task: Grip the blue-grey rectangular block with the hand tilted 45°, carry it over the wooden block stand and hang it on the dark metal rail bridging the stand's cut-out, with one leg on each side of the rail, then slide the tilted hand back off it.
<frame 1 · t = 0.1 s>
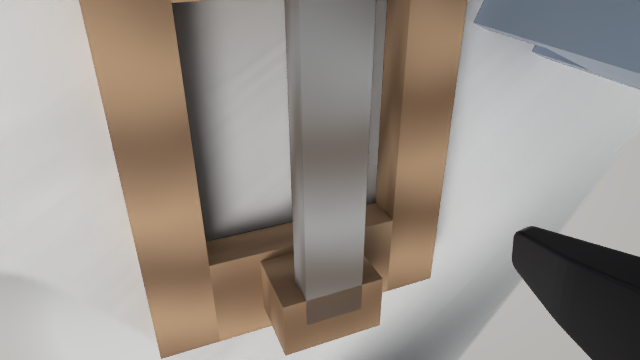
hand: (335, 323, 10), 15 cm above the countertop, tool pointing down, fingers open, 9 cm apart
wooden block stand: (289, 118, 24), on the countertop
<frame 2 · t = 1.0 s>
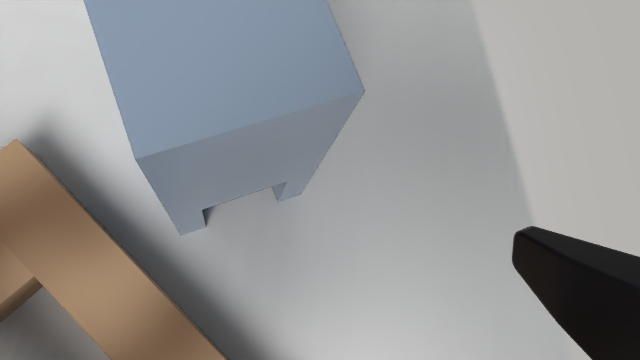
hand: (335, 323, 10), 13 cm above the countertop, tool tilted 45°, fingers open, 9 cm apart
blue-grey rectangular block: (225, 166, 24), on the countertop
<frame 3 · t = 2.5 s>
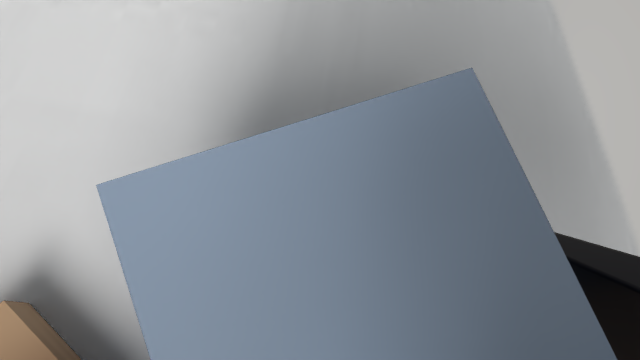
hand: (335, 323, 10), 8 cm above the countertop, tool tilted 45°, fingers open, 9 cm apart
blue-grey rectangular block: (282, 306, 18), on the countertop
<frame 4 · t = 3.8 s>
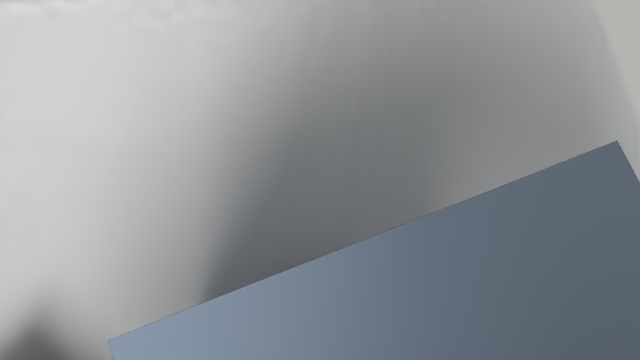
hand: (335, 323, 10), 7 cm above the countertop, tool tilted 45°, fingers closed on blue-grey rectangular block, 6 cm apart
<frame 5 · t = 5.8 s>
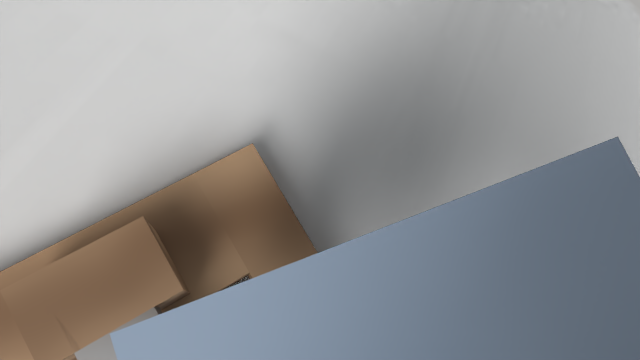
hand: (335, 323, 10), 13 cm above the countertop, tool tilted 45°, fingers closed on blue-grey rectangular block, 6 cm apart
when the fingers open (9 cm above the countertop, at t = 7.8 s): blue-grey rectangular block stays where it is, resting on wooden block stand.
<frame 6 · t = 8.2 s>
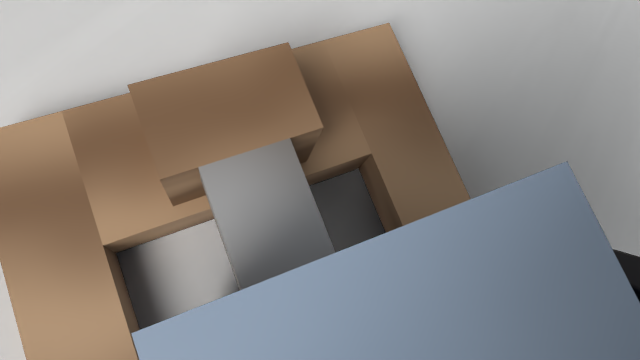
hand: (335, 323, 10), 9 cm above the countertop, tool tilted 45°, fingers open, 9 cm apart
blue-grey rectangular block: (306, 358, 17), point 1 cm above the countertop, touching wooden block stand
wooden block stand: (300, 356, 18), on the countertop
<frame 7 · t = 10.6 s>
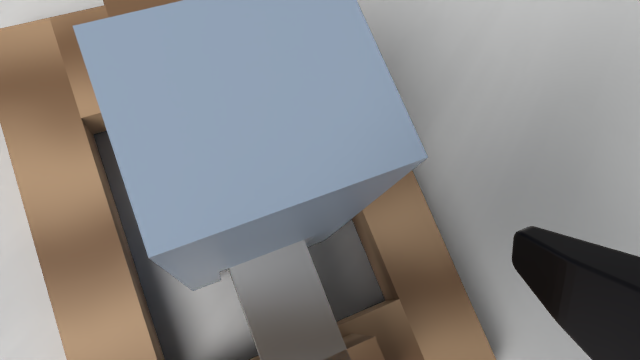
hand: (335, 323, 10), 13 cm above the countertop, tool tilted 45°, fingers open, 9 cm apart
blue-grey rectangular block: (241, 210, 22), point 1 cm above the countertop, touching wooden block stand
wooden block stand: (240, 218, 23), on the countertop
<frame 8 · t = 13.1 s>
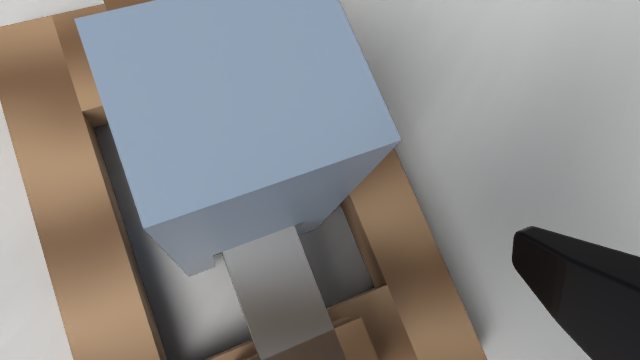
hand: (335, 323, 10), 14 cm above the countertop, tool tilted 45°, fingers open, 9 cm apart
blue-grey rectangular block: (235, 200, 23), point 1 cm above the countertop, touching wooden block stand
wooden block stand: (234, 208, 24), on the countertop
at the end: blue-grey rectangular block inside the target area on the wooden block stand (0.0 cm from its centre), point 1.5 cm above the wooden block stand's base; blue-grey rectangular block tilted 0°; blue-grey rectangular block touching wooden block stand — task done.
